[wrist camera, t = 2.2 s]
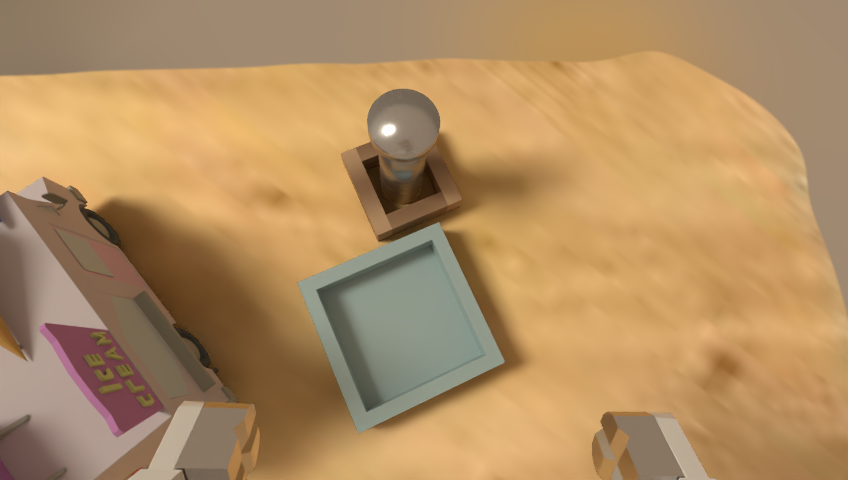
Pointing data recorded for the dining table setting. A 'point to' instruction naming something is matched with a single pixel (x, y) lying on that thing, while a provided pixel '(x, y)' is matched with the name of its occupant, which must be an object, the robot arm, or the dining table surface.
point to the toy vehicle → (84, 346)
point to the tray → (399, 326)
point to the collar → (413, 213)
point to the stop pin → (402, 140)
